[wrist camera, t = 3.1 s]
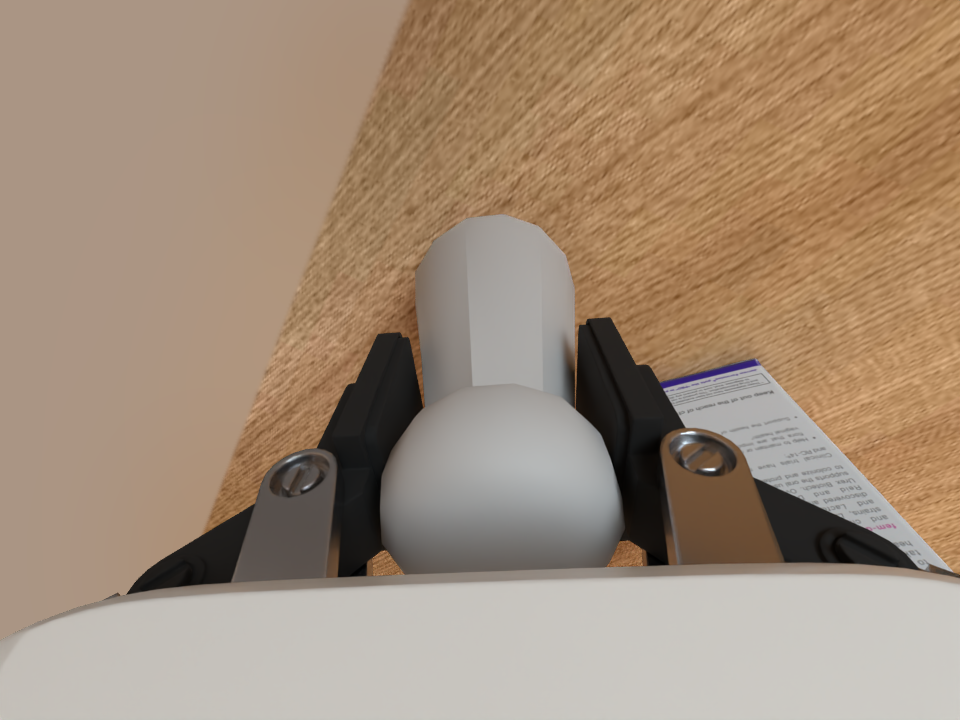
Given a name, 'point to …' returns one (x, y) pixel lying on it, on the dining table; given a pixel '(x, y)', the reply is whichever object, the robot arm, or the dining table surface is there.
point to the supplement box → (789, 449)
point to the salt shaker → (498, 416)
